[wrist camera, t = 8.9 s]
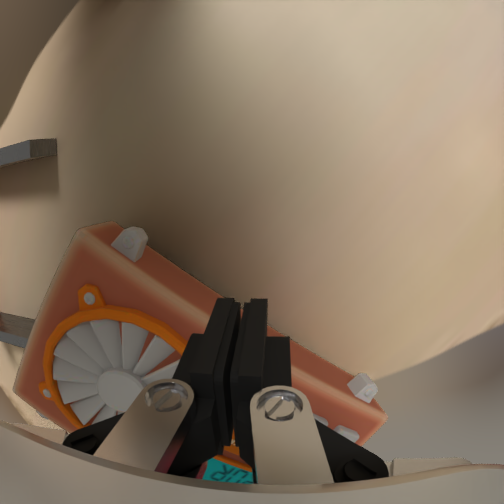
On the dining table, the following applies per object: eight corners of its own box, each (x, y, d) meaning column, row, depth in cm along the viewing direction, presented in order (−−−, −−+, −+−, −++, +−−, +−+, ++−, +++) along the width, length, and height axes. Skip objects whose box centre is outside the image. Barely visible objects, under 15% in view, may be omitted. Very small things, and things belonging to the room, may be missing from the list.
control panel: (408, 409, 16) (266, 530, 17) (366, 361, 23) (256, 474, 24) (84, 203, 12) (3, 407, 13) (126, 201, 19) (44, 361, 20)
